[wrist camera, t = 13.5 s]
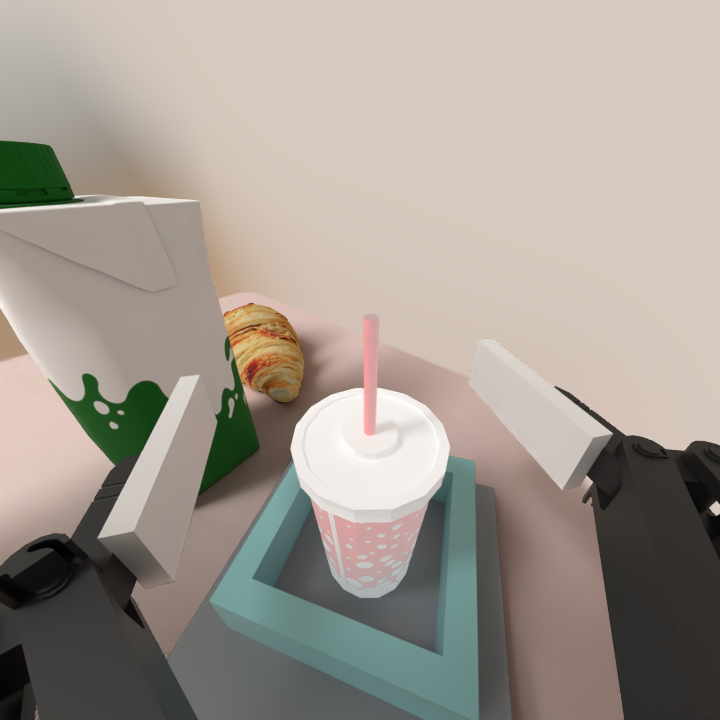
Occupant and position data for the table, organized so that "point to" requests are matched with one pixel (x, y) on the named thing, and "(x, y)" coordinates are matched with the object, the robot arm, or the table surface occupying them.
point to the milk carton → (116, 306)
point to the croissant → (265, 351)
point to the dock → (353, 621)
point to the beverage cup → (369, 475)
